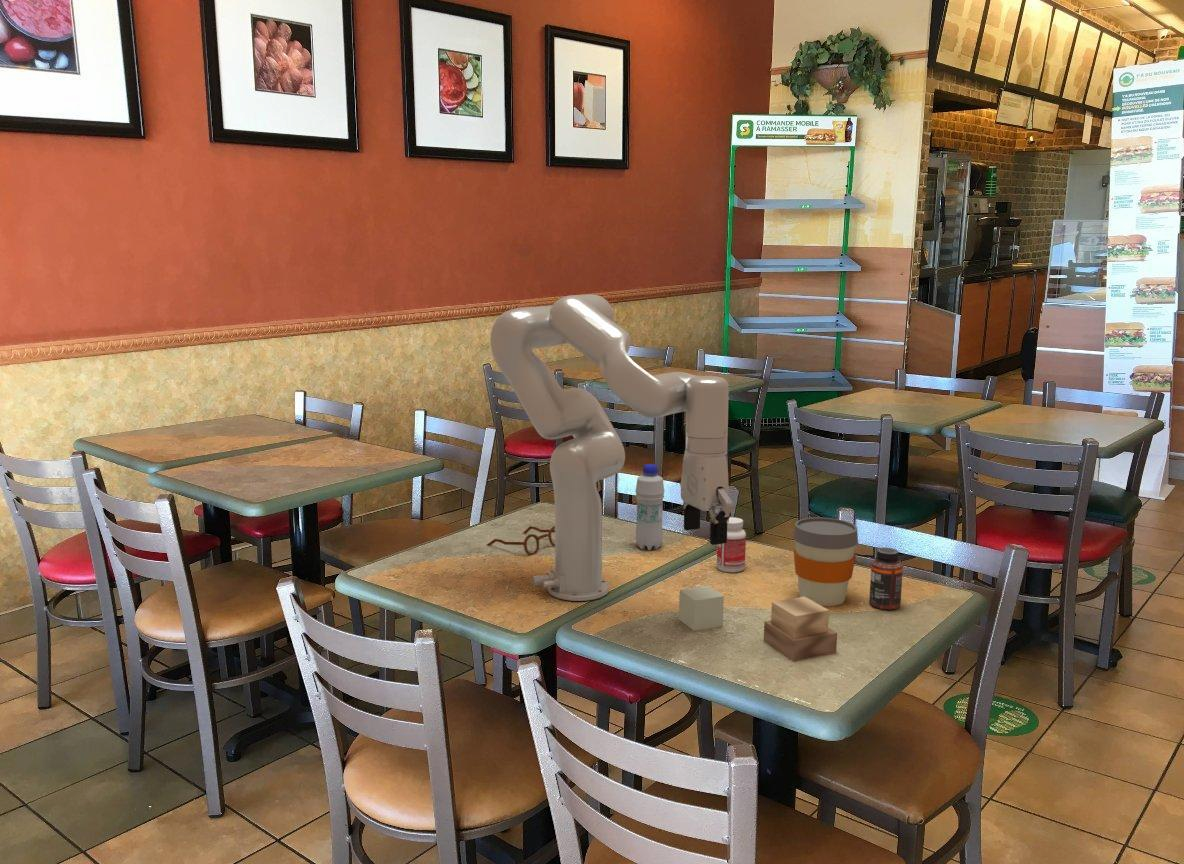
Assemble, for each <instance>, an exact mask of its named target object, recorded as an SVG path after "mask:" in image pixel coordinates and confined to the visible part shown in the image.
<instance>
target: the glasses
mask: <svg viewBox="0 0 1184 864" xmlns="http://www.w3.org/2000/svg"><path fill="white" fill-rule="evenodd" d="M531 530H535V531H537V532H539V533H544V534H541V535H539V536H537V535H536V534H527V533H529V531H531ZM552 533H555V525H554V526H552V527H550V529H541V528H539V527H536V526H531V525H530V526H529V527H528V528H526V529H525V530H524V531H522V534H525V535H526V534H527V536H526V537H525V538H524V540H523V541H505V540H503V539H500V538H499V539H498V538H494V539H492V540H490V542H489V543H487V544H486V546H487V547H490V546H492V545H494V544H495V543H496V542H497V543H501V544H503V545H505V546H506V545H508V546H509V545H510V546H523V548H524V552H525V553H526V554H527V555H528V556H533V555H536V554H537V553H538V552H539V551H540V540H542V539H544V538H546V537H548V541H549V543H550V545H551V546H552V547H555V542H553V539H552ZM530 538H534V540H535V542H536V543H535V544H536V548H535V550H534V551H533V552H530V551H529V549H528V540H529V539H530Z"/></svg>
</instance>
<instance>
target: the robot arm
mask: <svg viewBox="0 0 1184 864" xmlns="http://www.w3.org/2000/svg"><path fill="white" fill-rule="evenodd" d="M614 319H615V315H614V309H613V307H612V305H611V304H610V302H609V301H608V300H607V299H605V298H604V297H603V296H601V295H598V294H591V293H588V294H574V295H573V294H571V295H567V296H563V297H561V298H559V299H557V300H556V301H555V302H554V303H553V304H549V305H540V306H539V305H537V306H524V307H522V306H521V307H517V308H513V309H509V310H507V311H505V312H503V313H501V314H500V315H499V316H498V317H497V318H496V319H495V321H494V323H493V325H492V327H491V331H490V338H489V339H490V341H489V342H490V350H491V353H492V354H491V355H492V356H493V359H494V361H495V363H496V365H497V367H498V368H499V370H500V371H501V373H502V374H503V376H504V377H505V379H506V380H507V382H508V383H509V384H510V386H511V388H512V390H513V391H514V393H515V396H516V397H517V399H518V401H519V402H520V405H522V408H523V410H524V412H525V413H526V415H527V417H528V418H529V420H530V422H531V425H532V426H533V427H534V429H535V430H536V432H537V434H538V435H539V436H540V437H541V438H543V439H546V440H557V439H562V438H565V437H566V438H567V437H569V436H572V437H573V438H572V439H568V440H566V441H564V442H562V443H561V444H559V445H558V446H557V447H556V448H555V449H554V450H553V452H552V454H551V457H550V460H549V472H550V477H551V481H552V482H551V483H552V487H553V497H554V526H555V529H554V530H555V532H554V544H555V546H554V567H550V572H547V573H546V574H544V575H533V576H532V577H531V583H532V586H542V588H543V589H545V588H547V592H548V594H550V596H552V597H554V598H557V599H559V600H564V601H571V602H572V601H573V602H584V601H585V602H586V601H593V600H597V599H600V598H603V597H605V596H606V595H607V594H608V593H609V591H610V583H608V581H607V580H606V579H603V578H602V577H603V576H602V573H603V572H602V571H603V570H602V569H603V568H602V566H603V560H602V559H603V556H602V555H603V505H602V499H601V496H600V494H599V491H598V488H597V482H599V481H602V480H605V479H608V478H610V477H612V476H615V475H616V474H618V473H619V472H620V471H621V470H622V469H623V467H624V464H625V461H626V452H625V447H624V444H623V442H622V440H621V438H620V436H619V435H618V433H617V431H616V430H615V427H614V426H613V423H612V422H611V420H610V419H609V417H608V415H607V413H606V412H605V410H604V409H603V407H602V405H601V404H600V402H599V401H598V399H597V398H596V397H595V396H594V395H593V394H592V393H591V392H590V391H587V390H586V389H585V388H584V389H583V388H579V387H571V388H570V387H569V388H566V389H563V387H561V385H560V384H559V382H558V381H557V379H556V378H555V376H554V374H553V372H552V370H551V369H550V368H549V366H548V365H547V363H545V361H543V360H542V359H541V358H540V357H538V356H537V355H536V354H535V353H534V352H533V349H534V350H535V349H541V348H542V349H543V348H549V347H555V346H560V345H564V344H565V345H566V344H569V345H570V346H571V347H573V348H574V349H575V350H576V351H578V352H579V353H581V355H583V356H585V357H586V358H587V359H589V361H591V362H592V363H593V364H595V365H596V366H597V367H598V368H599V369H600V372H601V374H602V377H603V380H604V381H605V383H606V384H607V387H608V388H609V389H610V391H611V393H613V395H615V396H616V398H618V399H620V401H622V402H623V403H624V404H625V405H627V406H628V407H629V408H631V409H632V410H633V411H634V412H636V413H638V414H639V415H642V416H644V417H645V418H650V419H657V418H658V419H659V418H662V417H666V416H670V415H673V414H674V415H675V414H678V413H683V412H685V450H684V453H683V460H682V467H681V478H680V479H681V481H680V482H679V483H680V484H679V485H680V486H679V487H680V498H681V500H682V501H683V502H682V508H683V530H685V531H692V530H698V529H700V528H701V511H702V512H706V511H707V512H709V516H710V518H711V520H712V521H711V522H710V523H709V527H710V529H709V543H710V545H712V546H714V545H715V546H717V544H723V543H726V542H727V522H729V518H730V517H732V510H733V507H734V502H733V500H732V499H731V497H729V489H730V488H729V471H728V469H729V468H728V461H727V460H728V459H727V455H728V438H729V437H728V434H729V433H728V428H729V427H728V426H729V394H730V393H729V392H730V391H729V383H728V381H727V380H726V378H724V377H720V376H717V375H716V376H714V375H696V374H692V373H688V372H683V371H672V372H665V373H660V374H656V375H652V374H651V373H650V372H648V371H647V370H645V369H644V368H642V367H641V365H639V364H637V363H636V362H635V361H634V360H633V359H632V358H631V357H630V356H629V354H628V352H629V350H630V348H631V343H632V339H631V335H630V334H629V332H628V331H627V330H625V329H624V328H623V327H621V326H620V325H618V324H617V323H615V320H614ZM718 511H719V512H718ZM717 512H718V514H717Z"/></svg>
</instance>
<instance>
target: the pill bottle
mask: <svg viewBox="0 0 1184 864" xmlns="http://www.w3.org/2000/svg"><path fill="white" fill-rule="evenodd" d="M743 526H744V520H743V519H742V518H739V517H732V516H730V518H729V522H727V542H726V543H723V544H716V568H717V569H718V570H719V571H722V572H724V573H739V572H742V571H744V570H745V567H746V549H747V547H746V544H747V542H746V541H747V539H746V538H747V533H746V531H745V530H744V529H743Z"/></svg>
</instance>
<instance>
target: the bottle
mask: <svg viewBox="0 0 1184 864" xmlns="http://www.w3.org/2000/svg"><path fill="white" fill-rule="evenodd" d="M658 471H659V468H658V466H657V465H656V464H653V463H647V464H645V465H643V467H642V474H641V475H639V476H638V477H637V479H636V486H635V498H636V526H635V527H636V528H635V543H636V546H637V547H638V548H640V549H641V550H645V547H647V550H648V551H651V550H652V548H653V549H654V550H658V549H659V548H660V547H661V546H662V543H663V539H664V537H663V534H664V533H663V501H664V498H665V485H664V478H663V477H662V476H660V475H658V473H659V472H658Z"/></svg>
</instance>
